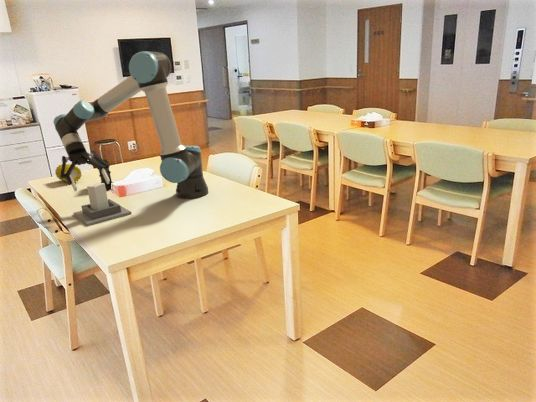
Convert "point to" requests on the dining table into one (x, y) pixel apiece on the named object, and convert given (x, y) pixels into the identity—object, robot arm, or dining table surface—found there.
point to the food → (75, 174)
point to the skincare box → (97, 196)
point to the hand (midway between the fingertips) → (92, 185)
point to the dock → (101, 213)
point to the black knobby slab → (107, 186)
